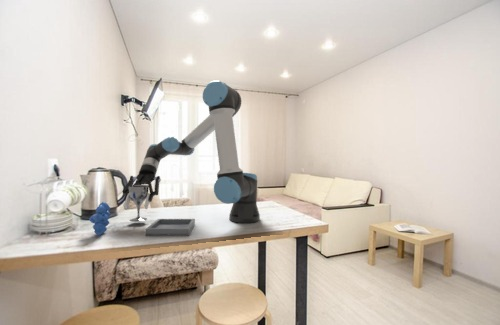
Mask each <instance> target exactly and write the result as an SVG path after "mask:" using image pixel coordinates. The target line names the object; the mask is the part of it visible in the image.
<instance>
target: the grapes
mask: <svg viewBox="0 0 500 325" xmlns="http://www.w3.org/2000/svg"><path fill="white" fill-rule="evenodd" d="M110 209H111V207H110V206H109V204H108V203H107V202H106V201H102V202H100V204H98V205H97V207H96V208H95V214H92V215H91V216H90V217H89V218H88V220H89V221H90V223H92V224H93V225H92V228H93V230H94V234H95V235H96V236H97V237H99V236H101V235H102V234H104V233H105V232H107V230H108V228H107V226H108V225H109V224H110V221H109V219H110V216H111V213H110V212H109V210H110Z"/></svg>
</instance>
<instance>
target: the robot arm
mask: <svg viewBox="0 0 500 325" xmlns="http://www.w3.org/2000/svg"><path fill="white" fill-rule="evenodd" d="M202 100H203V103H204V104H205V105H206V106H208V111H209V115H208V116H207V117H206V118H205V119H203V120H202V122H200V124H198V125H197V126H196V127H195V128H194V129H193V130H192V131H191V132H189V134H187V135H186V136H185V137H184V138H183V139H182V140H178V138H176V137H175V136H168V137H166V138H164V139H163V140H161V141H160V142H159V143H153V144H149V146H148V149H147V150H146V153H145V156H144V158H143V161H142V164H141V165H140V166H141V167H140V169H139V171H138V174H137V175H136V176H133V175H130V176H129V180H128V181H127V183H126V184H125V186H124V188H123V189H122V194H123V195H124V198H123V200H124V202H123V208H124V209H125V210H127V209H128V208H129V205H130V203H131V201H132V200H131V199H130V196H129V186H132V185H148V186H149V188H148V195H147V198H146V200H145V201H144V204H143V206H144V209H145V210H148V208H149V206H150V203H151V202H152V201H153V199H154V197H155V196H159V191H160V182H161V181H162V179H161V176H160V175H157V176H156V174H157V171H158V168H159V165H160V162H161V160H162V159H164V158H166V157H167V156H169V155H173V156H174V155H175V156H191V155H192V154H193V153H194V152H195V148H196V147H197V146H198V145H199V144H201V143H202V142H203V141H204V140H205V139H206V138H208V136H210V135H211V134H212V133H213V132H214V134H215V142H216V149H217V157H218V165H219V170H218V172H217V173H216V176H217V178H216V180H215V183H214V185H213V192H214V195H215V197H216V199H217V200H219V201H220V202H221V203H222V204H225V205H226V204H227V205H231V204H232V206H231V209H230V213H229V214H228V215H229V217H228V219H229V221H231V222H234V223H240V224H241V223H242V224H252V223H257V222H259V221H260V219H261V218H260V217H261V215H260V212H259V211H260V210H259V209H258V205H257V203H258V202H257V200H258V175H257V174H256V173H251V172H244V170H243V169H241V168H240V166H239V158H238V150H237V143H236V142H237V141H236V136H235V135H236V134H235V126H234V120H233V118H234V116H236V114H238V112H239V111H240V109H241V107H242V97H241V94H240V93H239V92H238V91H237V90H236V89H234V88H232V87H230V86H229V85H227V84H226V83H225V82H222V81H220V80H212V81H210V82H209V83H207V84H206V86H205V87H204V89H203V91H202ZM154 180H155V183H154V189H153V186H152V185H153V184H152V182H153V181H154Z"/></svg>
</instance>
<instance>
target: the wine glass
mask: <svg viewBox="0 0 500 325" xmlns="http://www.w3.org/2000/svg"><path fill="white" fill-rule="evenodd" d="M148 193H149V186H148V184H142V185H132V186H129V196H130V199H131V200H130V201H131V202H132V203H134V205H135V206H136V209H137V210H136V211H137V216H136V217H133V218H130V219H129V220H128V221H129V222H134V223H136V222H138V223H139V222H144V221H146V220H148V218H147V217H142V216H140V215H141V214H140V211H141V206H142V204H143V203H145V201H146V198H147V195H148Z"/></svg>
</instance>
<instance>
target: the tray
mask: <svg viewBox="0 0 500 325" xmlns="http://www.w3.org/2000/svg"><path fill="white" fill-rule="evenodd" d="M195 223H196V220H195V218H157V219H156V220H155V221H153V223H151V224H150V225H149V226H147V227H146V228H145V237H160V236H161V237H169V236H170V237H171V236H172V237H175V236H176V237H179V236H181V237H183V236H184V237H185V236H186V237H188V236H190V234H191V232H192V231H193V229H194V227H195V226H196V224H195Z"/></svg>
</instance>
